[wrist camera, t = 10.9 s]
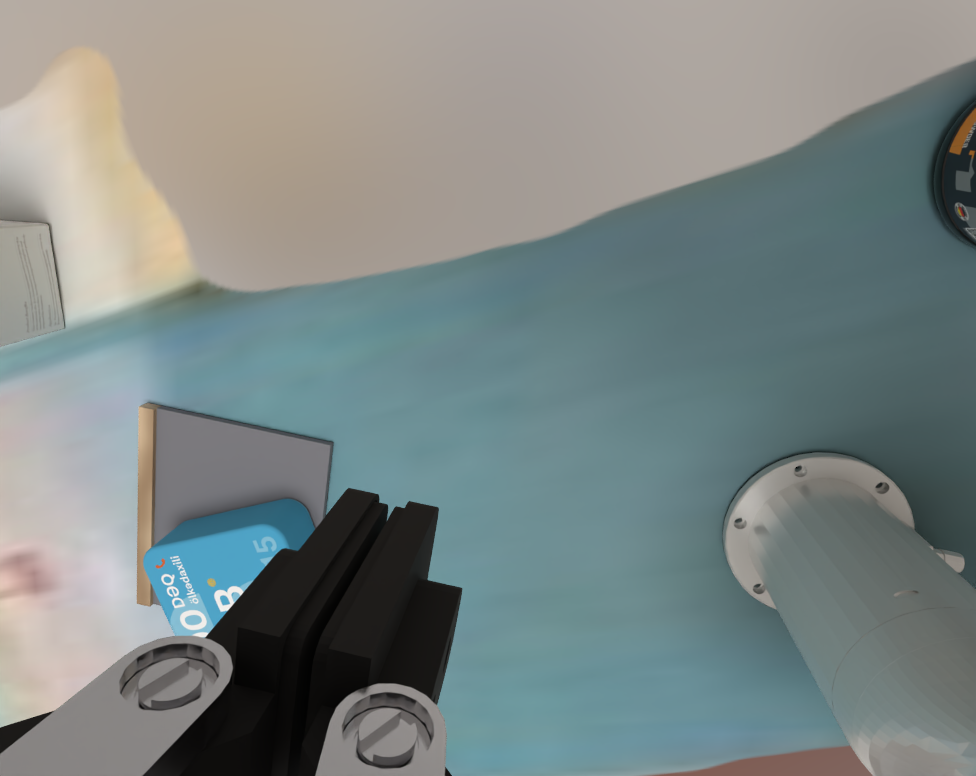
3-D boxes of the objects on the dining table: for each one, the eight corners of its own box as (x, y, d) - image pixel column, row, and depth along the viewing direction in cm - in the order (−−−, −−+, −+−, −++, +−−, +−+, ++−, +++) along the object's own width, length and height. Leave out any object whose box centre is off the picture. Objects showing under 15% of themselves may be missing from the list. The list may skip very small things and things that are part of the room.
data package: (333, 661, 47) (195, 684, 49) (352, 623, 51) (225, 645, 53) (277, 521, 44) (134, 551, 46) (303, 493, 48) (171, 522, 50)
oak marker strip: (161, 405, 48) (153, 409, 47) (157, 599, 53) (150, 606, 52) (147, 402, 48) (138, 406, 47) (144, 596, 53) (136, 603, 53)
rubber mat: (333, 442, 47) (330, 445, 47) (312, 636, 52) (309, 640, 52) (161, 405, 48) (156, 408, 48) (157, 599, 53) (153, 603, 53)
